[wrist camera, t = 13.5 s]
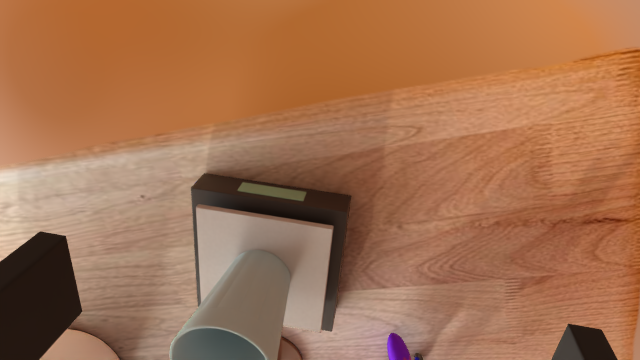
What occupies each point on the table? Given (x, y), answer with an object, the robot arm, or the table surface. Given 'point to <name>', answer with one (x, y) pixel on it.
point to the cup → (239, 313)
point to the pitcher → (79, 348)
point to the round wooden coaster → (288, 351)
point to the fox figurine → (399, 349)
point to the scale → (273, 240)
